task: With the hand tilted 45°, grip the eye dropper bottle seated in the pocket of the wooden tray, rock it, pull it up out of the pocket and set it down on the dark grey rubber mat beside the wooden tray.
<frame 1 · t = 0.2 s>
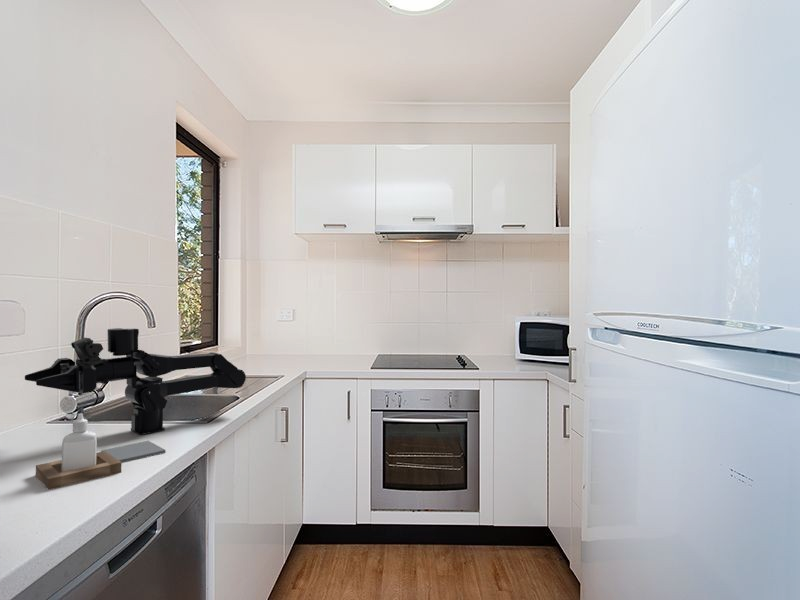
hand: (30, 380, 102), 17 cm above the counter, tool horizontal, fingers open, 9 cm apart
eye dropper bottle: (78, 474, 91), resting in wooden tray
wooden tray: (79, 473, 91), on the counter
mat: (133, 452, 104), on the counter
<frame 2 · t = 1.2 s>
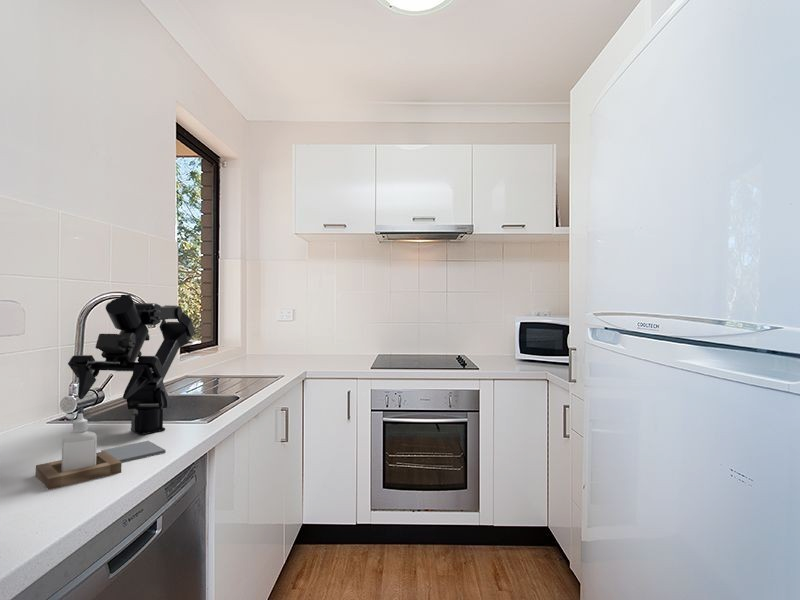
hand: (102, 398, 99), 13 cm above the counter, tool tilted 45°, fingers open, 9 cm apart
nothing on the counter moved.
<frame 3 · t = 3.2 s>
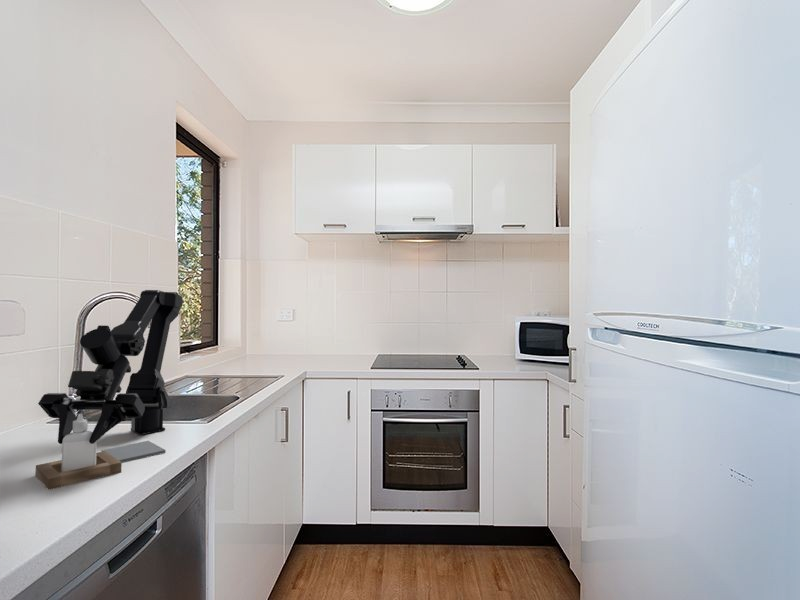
hand: (75, 442, 90), 7 cm above the counter, tool tilted 45°, fingers closed on eye dropper bottle, 5 cm apart
eye dropper bottle: (78, 474, 91), resting in wooden tray, touching gripper
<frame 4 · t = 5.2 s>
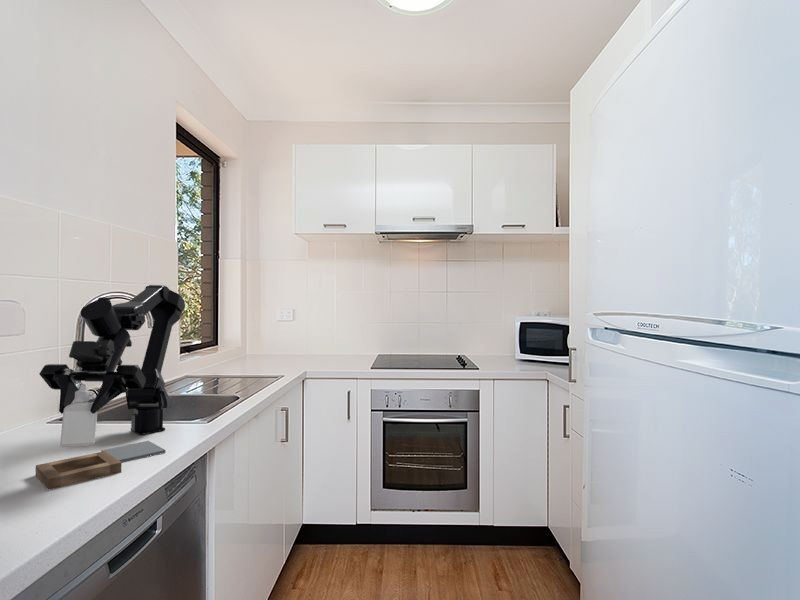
hand: (76, 412, 90), 13 cm above the counter, tool tilted 45°, fingers closed on eye dropper bottle, 5 cm apart
eye dropper bottle: (77, 446, 90), point 6 cm above the counter, touching gripper
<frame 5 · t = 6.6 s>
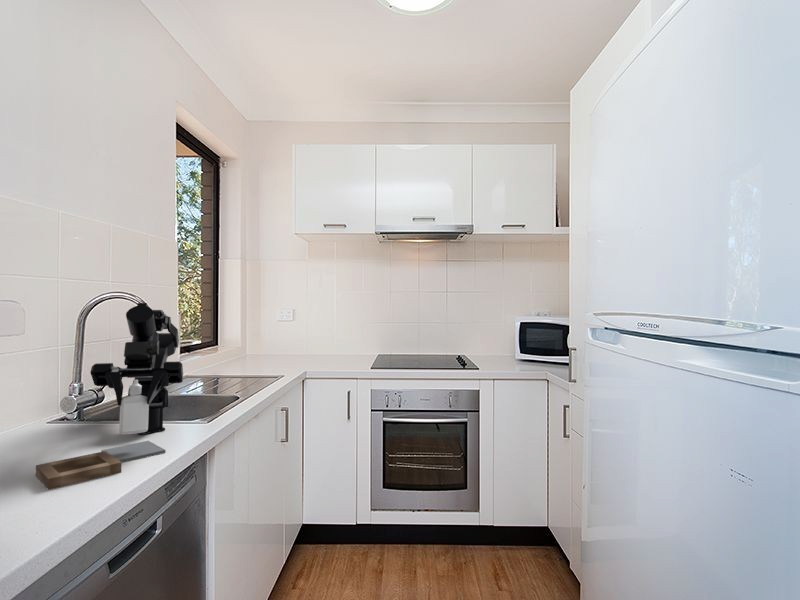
hand: (133, 404, 103), 11 cm above the counter, tool tilted 45°, fingers closed on eye dropper bottle, 5 cm apart
eye dropper bottle: (133, 433, 104), point 4 cm above the counter, touching gripper
when the fingers open (8 cm above the counter, at t = 7.7 s): eye dropper bottle stays where it is, resting on mat.
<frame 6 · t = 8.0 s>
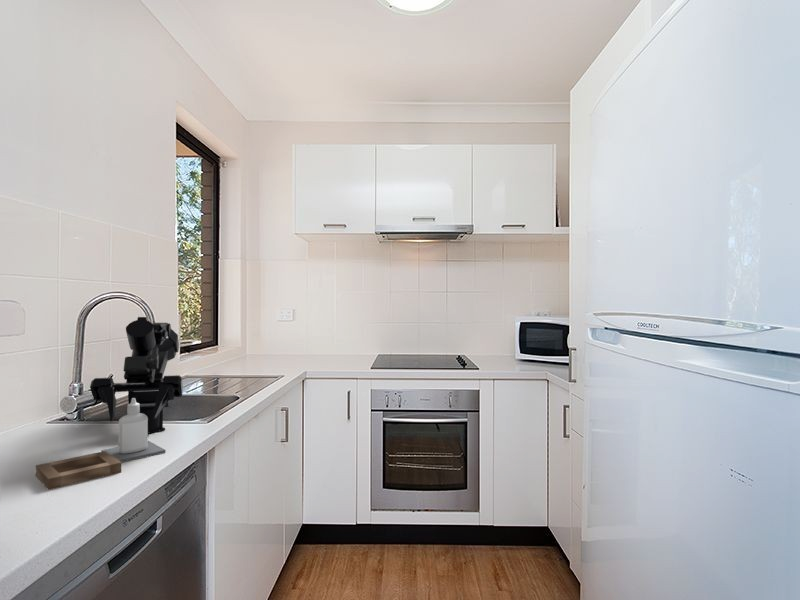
hand: (133, 418, 103), 8 cm above the counter, tool tilted 45°, fingers open, 8 cm apart
eye dropper bottle: (133, 451, 104), point 1 cm above the counter, touching mat
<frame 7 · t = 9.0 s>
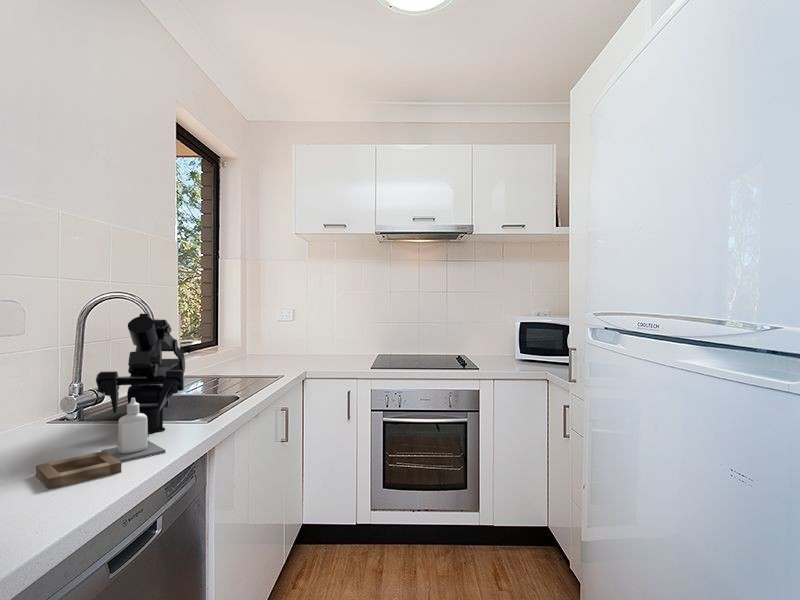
hand: (136, 411, 108), 9 cm above the counter, tool tilted 45°, fingers open, 9 cm apart
nothing on the counter moved.
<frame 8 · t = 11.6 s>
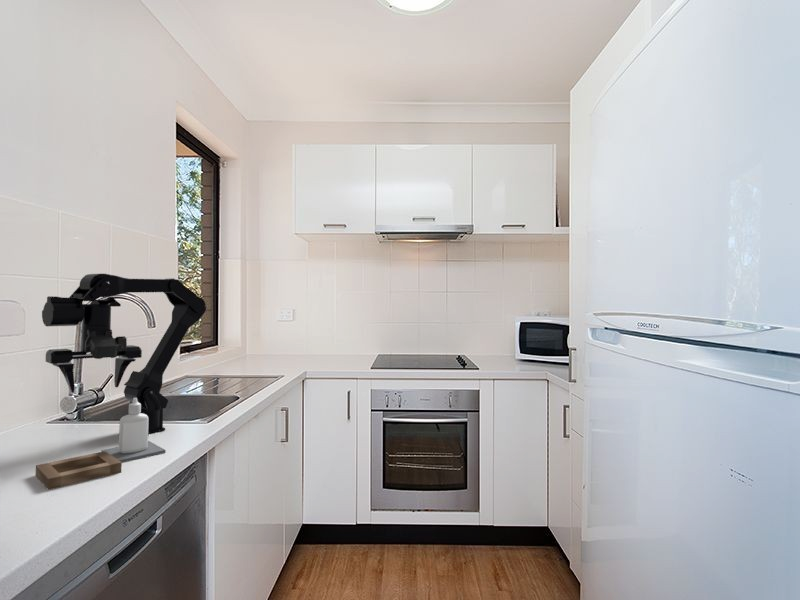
hand: (95, 389, 110), 13 cm above the counter, tool pointing down, fingers open, 9 cm apart
nothing on the counter moved.
at the end: eye dropper bottle 0.6 cm from the mat (horizontally); eye dropper bottle tilted 2°; the gripper is holding nothing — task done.
